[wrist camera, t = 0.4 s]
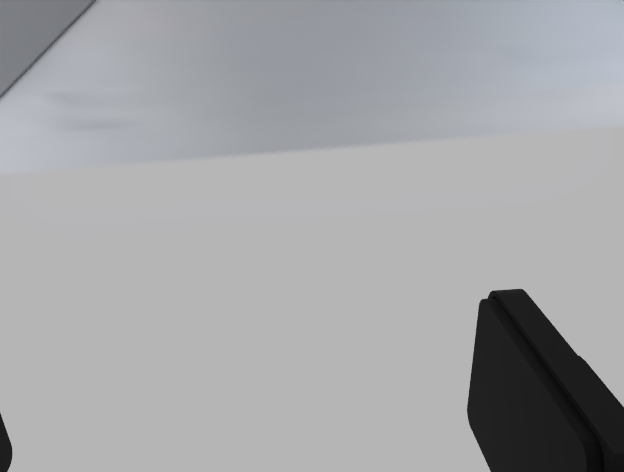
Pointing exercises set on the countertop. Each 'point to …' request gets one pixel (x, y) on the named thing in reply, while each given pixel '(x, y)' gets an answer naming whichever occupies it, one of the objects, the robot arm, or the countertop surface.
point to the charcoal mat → (31, 32)
